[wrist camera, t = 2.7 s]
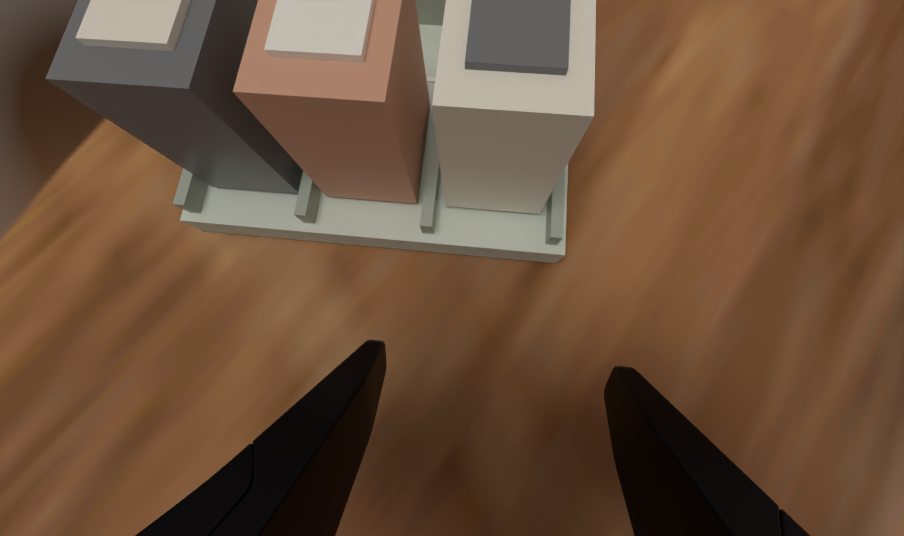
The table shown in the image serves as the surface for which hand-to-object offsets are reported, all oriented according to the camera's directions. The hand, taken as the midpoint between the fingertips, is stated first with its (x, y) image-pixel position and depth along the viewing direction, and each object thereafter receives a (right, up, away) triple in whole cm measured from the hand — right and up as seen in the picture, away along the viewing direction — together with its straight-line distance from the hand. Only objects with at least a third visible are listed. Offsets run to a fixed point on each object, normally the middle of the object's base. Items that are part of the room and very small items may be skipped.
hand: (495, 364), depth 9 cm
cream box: (+1, +8, +11) cm, 14 cm away
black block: (-12, +10, +11) cm, 19 cm away
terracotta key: (-5, +9, +11) cm, 15 cm away
